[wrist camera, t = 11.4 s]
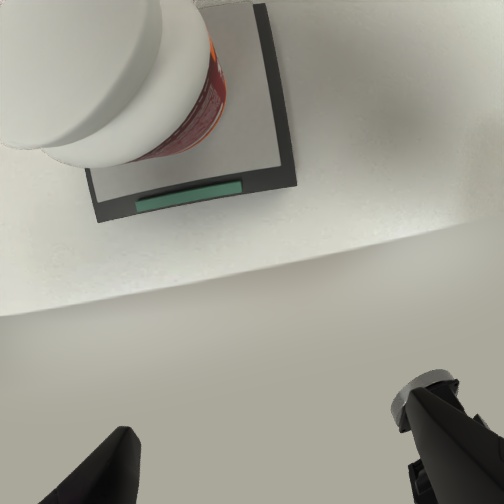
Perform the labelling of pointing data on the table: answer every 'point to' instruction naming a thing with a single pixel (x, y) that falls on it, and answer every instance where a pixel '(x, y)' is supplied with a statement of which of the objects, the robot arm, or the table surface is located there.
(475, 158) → the table surface
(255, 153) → the scale
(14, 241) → the table surface
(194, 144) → the pill bottle
